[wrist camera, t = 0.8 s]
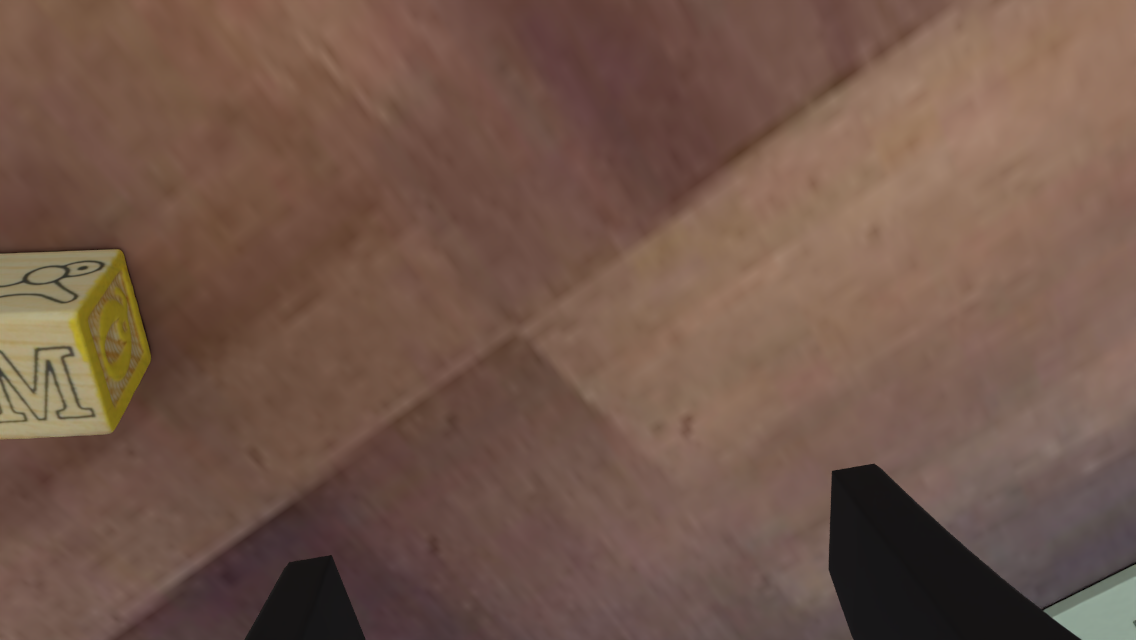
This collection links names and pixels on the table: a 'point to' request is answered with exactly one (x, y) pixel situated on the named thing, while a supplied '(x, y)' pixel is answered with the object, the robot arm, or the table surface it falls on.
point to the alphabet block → (67, 343)
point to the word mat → (1101, 609)
